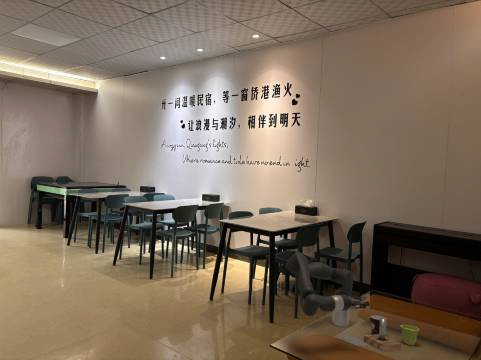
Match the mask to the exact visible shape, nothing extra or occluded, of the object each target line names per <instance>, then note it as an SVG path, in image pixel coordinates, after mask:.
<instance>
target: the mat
mask: <svg viewBox="0 0 481 360" xmlns="http://www.w3.org/2000/svg"><path fill="white" fill-rule="evenodd" d="M337 337H338V338H339V339H341V340H343V341H345V342H347V343H348V344H350V343H352V344H354V345H357V346H356V347H360V346H361V347H362V346H371V345H370V344H368V343H366V342H364V340H362V339H360V338H358V337H356V336H354V335H340V336H337ZM352 344H351V345H352ZM354 345H353V346H354Z"/></svg>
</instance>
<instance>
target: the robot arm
mask: <svg viewBox="0 0 481 360" xmlns="http://www.w3.org/2000/svg"><path fill="white" fill-rule="evenodd" d="M285 266H286V269H287V270H288V272H290V273H291V274H294V275H298V279H297V280H298V281H297V288H298V290H299V294H300V307H301V311H302V312H303V313H304V315H306V316H307V317H313V316H314V315H315V314H316V313H317V311H318V309H320V311H322V312H332V314H331V316H332V317H331V318H332V319H331V323H332V324H333V325H335V326H336V327H341V328H343V327H345V328H346V327H349V322H350V308H355V309H358V310H359V309H367V307H370V304H371V303H370V301H368V300H367V301H362V300H361V301H360V299H359V297H358V296H351V295H352V290H353V285H354V284H353V283H354V274H353V272H352V271H351V270H348V269H345V268H337V267H335V268H334V267H331V266H330V265H328V264H326V263H324V262H319V261H315V262H310V263H309V261H308V258H307V257H306V255H305V254H303V253H302V252H300V251H296V252H294V253H293V254H292V255H291V257H289V259H288V260H287V261H286V263H285ZM310 277H312V278H315V279H319V280H329V281H332V282H334V283H336V284H338V285H341V288H340V289H336V290H335V291H334V295H330V296H326V295H325V296H324V295H320V294H316V293H315V291H314V288H313V284H312V281H311V278H310Z"/></svg>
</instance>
